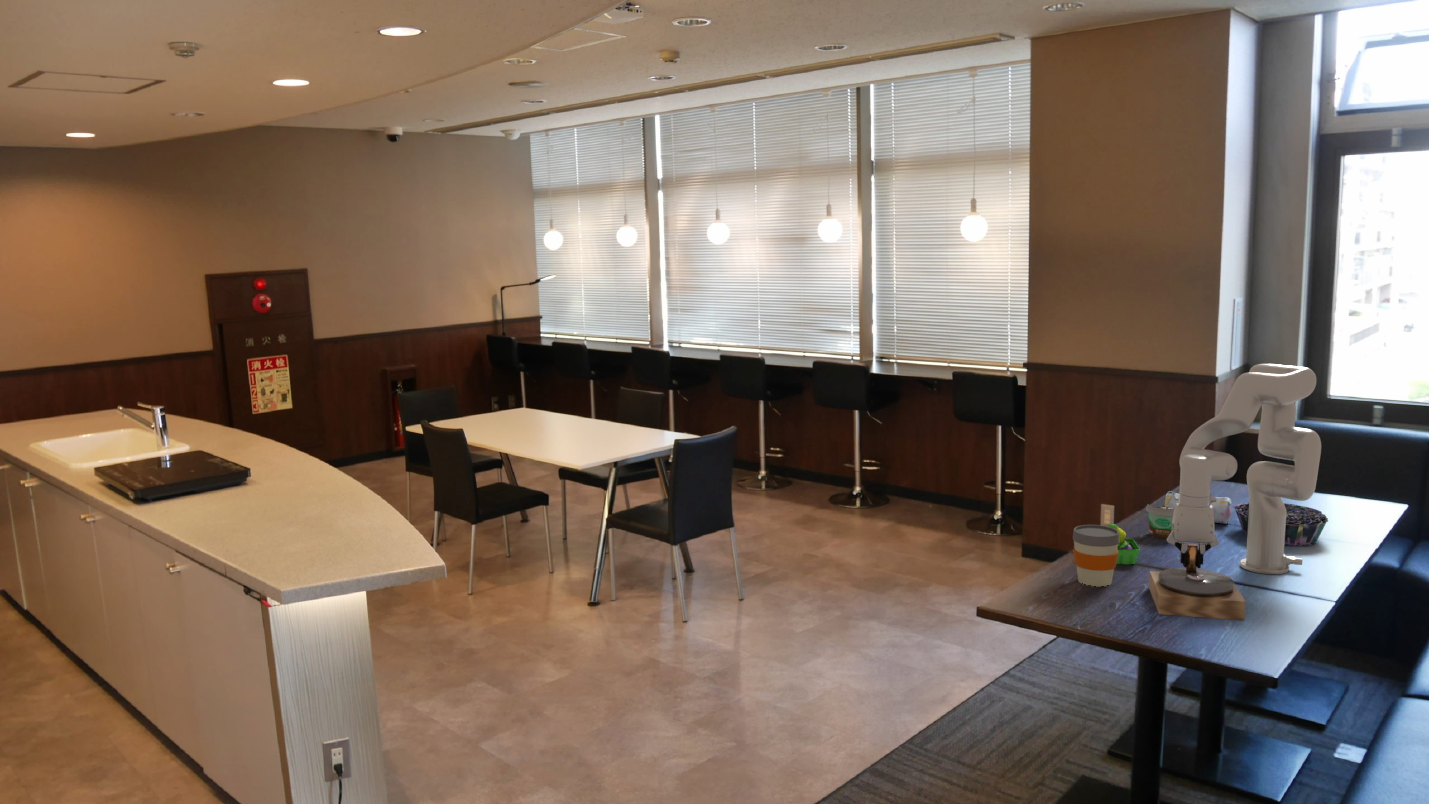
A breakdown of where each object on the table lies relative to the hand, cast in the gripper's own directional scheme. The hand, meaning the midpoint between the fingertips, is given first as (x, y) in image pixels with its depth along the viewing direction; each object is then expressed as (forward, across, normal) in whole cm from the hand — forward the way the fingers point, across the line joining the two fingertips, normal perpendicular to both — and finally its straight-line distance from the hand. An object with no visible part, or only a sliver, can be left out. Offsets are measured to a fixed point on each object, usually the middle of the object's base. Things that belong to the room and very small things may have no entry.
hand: (1191, 565), depth 269 cm
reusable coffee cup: (+8, +24, -6) cm, 26 cm away
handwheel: (+3, 0, +7) cm, 8 cm away
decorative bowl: (+9, -36, -63) cm, 73 cm away
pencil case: (+9, -14, -78) cm, 80 cm away
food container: (+8, -1, -55) cm, 56 cm away
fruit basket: (+8, +15, -28) cm, 33 cm away
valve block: (+8, 0, +7) cm, 11 cm away
